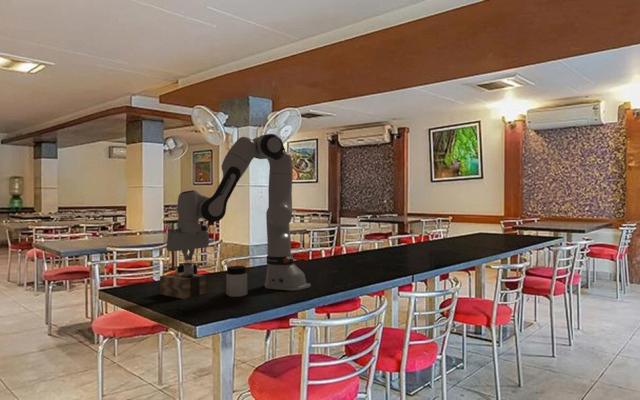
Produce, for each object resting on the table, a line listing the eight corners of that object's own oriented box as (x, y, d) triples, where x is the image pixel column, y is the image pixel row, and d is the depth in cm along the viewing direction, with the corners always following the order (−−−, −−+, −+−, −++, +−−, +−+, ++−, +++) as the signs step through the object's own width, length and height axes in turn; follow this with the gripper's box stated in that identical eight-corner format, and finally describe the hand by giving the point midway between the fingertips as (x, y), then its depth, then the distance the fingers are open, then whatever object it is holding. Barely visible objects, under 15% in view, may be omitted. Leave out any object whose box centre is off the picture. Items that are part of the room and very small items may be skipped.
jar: (247, 292, 206) (247, 265, 206) (246, 296, 198) (246, 268, 198) (227, 293, 205) (227, 265, 205) (225, 297, 197) (225, 268, 197)
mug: (181, 288, 216) (181, 269, 216) (174, 284, 226) (174, 265, 226) (201, 286, 221) (201, 267, 221) (194, 282, 231) (193, 264, 231)
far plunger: (184, 291, 207) (183, 274, 207) (176, 292, 203) (176, 275, 203) (178, 290, 209) (177, 273, 209) (170, 291, 206) (170, 274, 206)
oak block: (205, 293, 204) (205, 275, 204) (183, 298, 195) (183, 279, 194) (182, 289, 214) (182, 272, 213) (160, 294, 204) (159, 276, 204)
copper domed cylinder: (195, 279, 202) (195, 262, 202) (188, 281, 199) (187, 263, 199) (189, 278, 205) (189, 261, 204) (181, 280, 201) (181, 263, 201)
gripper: (172, 229, 191) (172, 263, 191) (211, 226, 208) (211, 257, 208) (163, 229, 195) (163, 262, 195) (201, 226, 211) (201, 256, 212)
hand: (188, 259), depth 201 cm, fingers closed
